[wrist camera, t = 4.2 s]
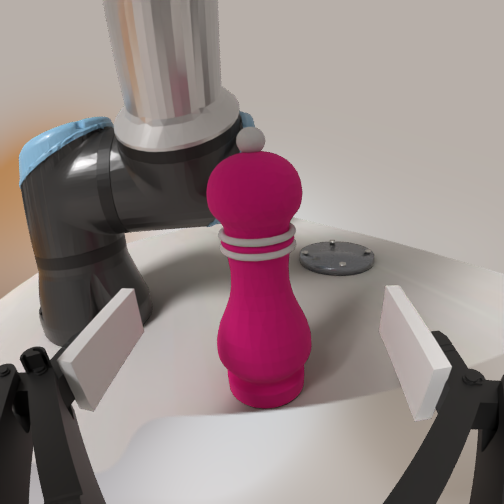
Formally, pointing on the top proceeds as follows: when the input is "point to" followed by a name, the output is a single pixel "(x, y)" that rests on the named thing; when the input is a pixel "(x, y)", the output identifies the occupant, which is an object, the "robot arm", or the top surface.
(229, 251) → the pepper mill
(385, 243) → the top surface
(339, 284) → the top surface
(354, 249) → the flange plate
